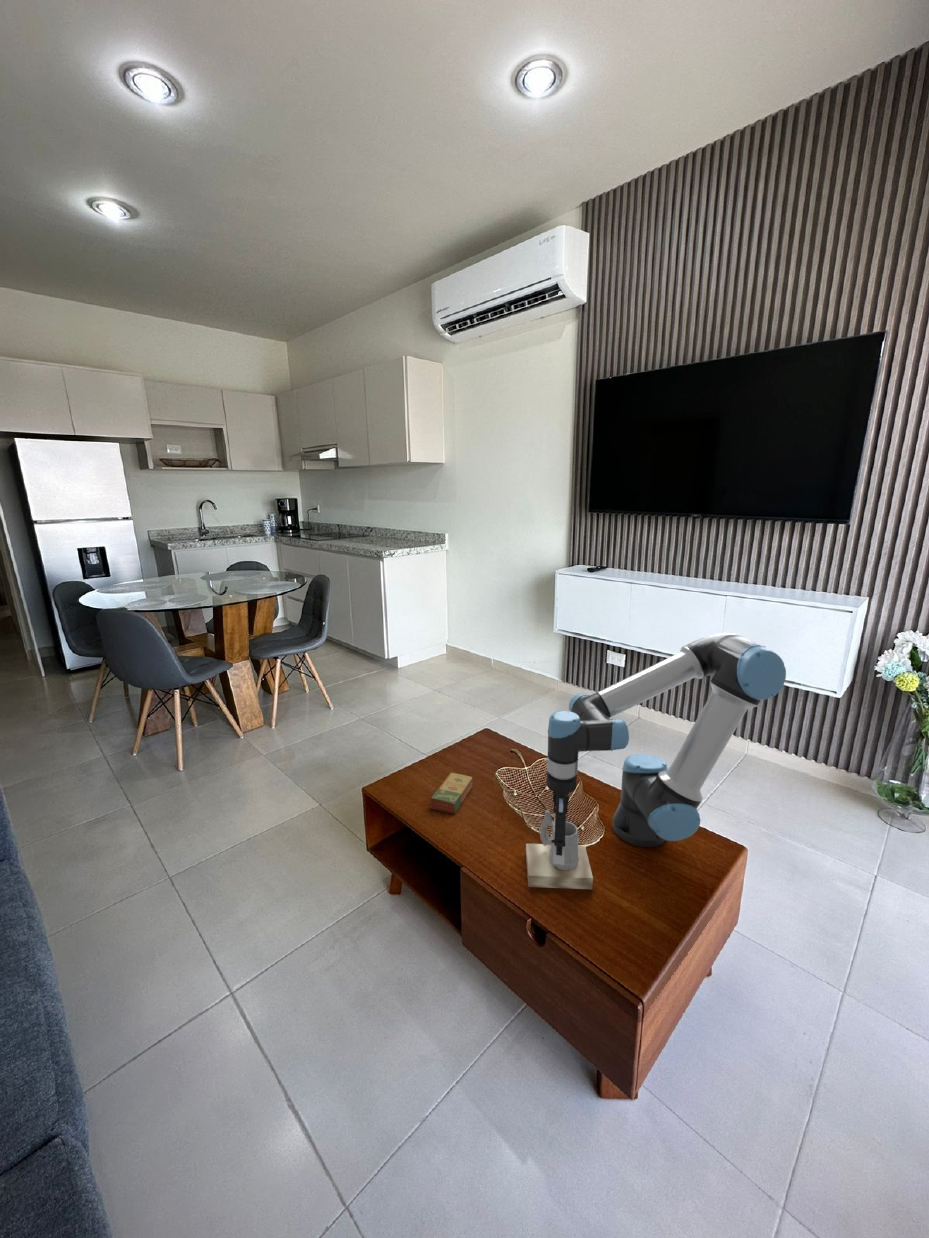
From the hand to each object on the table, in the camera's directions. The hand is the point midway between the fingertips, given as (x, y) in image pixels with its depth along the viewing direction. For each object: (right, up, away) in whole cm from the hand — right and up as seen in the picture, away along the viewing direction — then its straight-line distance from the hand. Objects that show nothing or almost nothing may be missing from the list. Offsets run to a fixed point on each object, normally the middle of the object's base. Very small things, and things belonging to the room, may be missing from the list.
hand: (558, 844), depth 132 cm
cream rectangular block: (0, -8, +2) cm, 8 cm away
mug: (0, -4, +2) cm, 5 cm away
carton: (-29, 0, +34) cm, 44 cm away
